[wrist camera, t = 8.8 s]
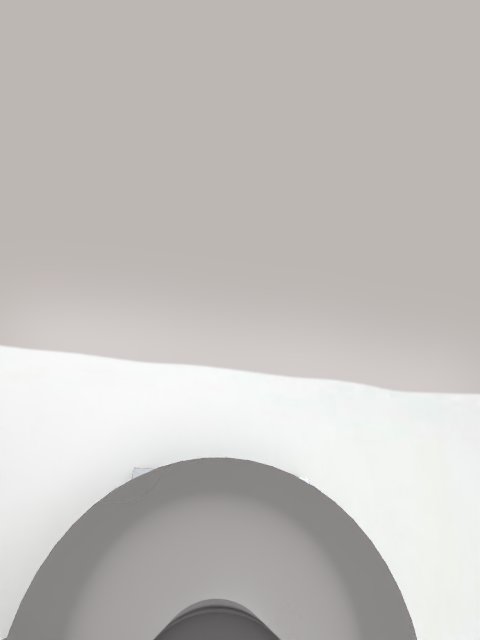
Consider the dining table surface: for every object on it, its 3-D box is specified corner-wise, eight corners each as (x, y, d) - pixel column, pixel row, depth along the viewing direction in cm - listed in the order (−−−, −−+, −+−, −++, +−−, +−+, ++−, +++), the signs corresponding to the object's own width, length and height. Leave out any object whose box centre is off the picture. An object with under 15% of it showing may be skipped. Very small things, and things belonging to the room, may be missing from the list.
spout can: (132, 693, 16) (-374, 1434, 2) (153, 526, 18) (-22, 391, 5) (284, 700, 16) (700, 1447, 2) (284, 533, 18) (480, 421, 5)
